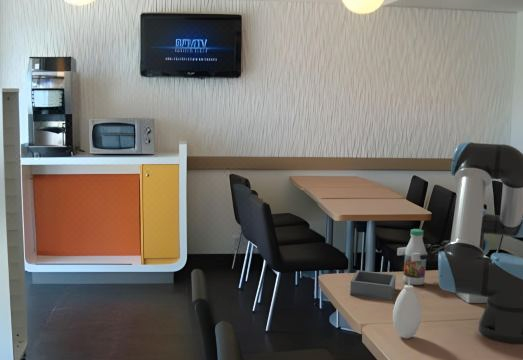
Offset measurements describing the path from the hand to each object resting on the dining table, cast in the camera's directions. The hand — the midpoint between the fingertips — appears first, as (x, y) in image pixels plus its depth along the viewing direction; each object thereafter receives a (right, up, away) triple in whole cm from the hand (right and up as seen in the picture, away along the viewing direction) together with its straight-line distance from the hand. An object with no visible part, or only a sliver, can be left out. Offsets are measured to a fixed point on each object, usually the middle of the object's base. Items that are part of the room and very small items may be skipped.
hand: (405, 254), depth 217 cm
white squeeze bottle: (-11, -18, -47) cm, 51 cm away
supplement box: (+21, -14, -12) cm, 28 cm away
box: (-13, -12, -8) cm, 19 cm away
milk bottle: (+4, -11, +4) cm, 12 cm away
